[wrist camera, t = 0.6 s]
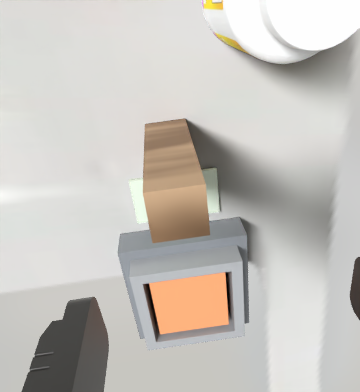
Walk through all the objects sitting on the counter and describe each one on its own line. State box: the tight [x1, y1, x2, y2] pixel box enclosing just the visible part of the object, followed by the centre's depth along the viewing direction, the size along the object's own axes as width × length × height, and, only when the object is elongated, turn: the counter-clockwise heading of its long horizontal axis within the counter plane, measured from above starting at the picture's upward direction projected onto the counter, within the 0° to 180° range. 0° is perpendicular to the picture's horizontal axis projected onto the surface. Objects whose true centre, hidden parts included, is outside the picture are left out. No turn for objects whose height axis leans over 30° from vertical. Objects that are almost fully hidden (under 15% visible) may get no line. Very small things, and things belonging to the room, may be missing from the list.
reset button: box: [149, 272, 229, 334], centre depth 34 cm, size 7×7×3 cm
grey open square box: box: [118, 217, 249, 350], centre depth 35 cm, size 12×12×5 cm
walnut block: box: [143, 119, 210, 243], centre depth 24 cm, size 3×3×12 cm
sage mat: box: [129, 168, 220, 224], centre depth 32 cm, size 5×8×1 cm, turn 97°
